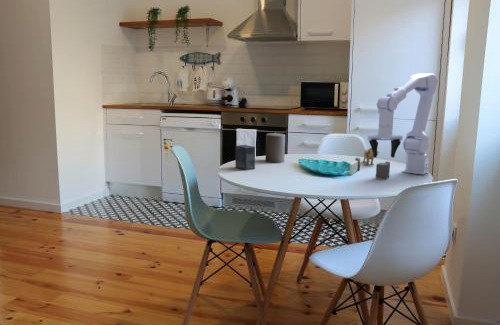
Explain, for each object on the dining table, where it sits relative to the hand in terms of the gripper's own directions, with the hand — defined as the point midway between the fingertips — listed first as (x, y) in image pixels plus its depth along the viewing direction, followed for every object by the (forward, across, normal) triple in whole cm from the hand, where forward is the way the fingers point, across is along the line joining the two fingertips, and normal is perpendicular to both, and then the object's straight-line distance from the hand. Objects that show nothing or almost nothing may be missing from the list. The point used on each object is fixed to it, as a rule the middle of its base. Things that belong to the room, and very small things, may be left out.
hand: (383, 157), depth 200 cm
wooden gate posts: (+9, +1, -11) cm, 14 cm away
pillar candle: (+9, +41, -39) cm, 58 cm away
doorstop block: (+9, 0, 0) cm, 9 cm away
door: (+9, +10, -10) cm, 17 cm away
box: (+9, +58, -22) cm, 62 cm away
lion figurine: (+9, -5, -32) cm, 33 cm away
